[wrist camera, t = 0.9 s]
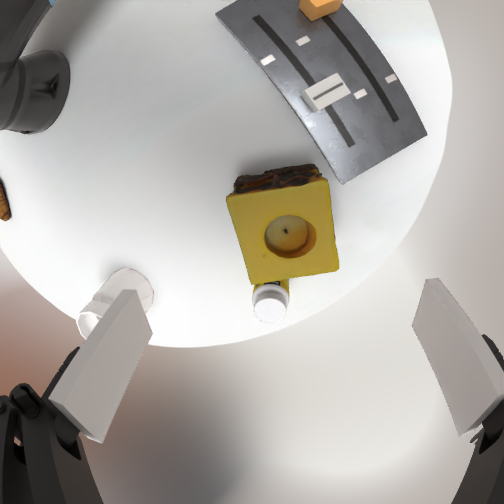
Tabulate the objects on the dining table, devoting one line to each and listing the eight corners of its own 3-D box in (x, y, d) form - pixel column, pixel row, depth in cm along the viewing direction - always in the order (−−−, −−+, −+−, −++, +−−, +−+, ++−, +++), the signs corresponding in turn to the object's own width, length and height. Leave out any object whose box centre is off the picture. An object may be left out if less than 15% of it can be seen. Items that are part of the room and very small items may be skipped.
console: (217, 19, 24) (214, 13, 22) (306, -25, 20) (307, -31, 18) (339, 181, 33) (342, 184, 31) (420, 133, 28) (427, 134, 26)
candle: (236, 176, 34) (221, 195, 25) (314, 161, 32) (329, 175, 23) (254, 247, 38) (247, 287, 29) (326, 234, 36) (340, 271, 27)
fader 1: (298, 7, 21) (301, -9, 17) (324, -4, 20) (331, -19, 16) (311, 21, 22) (316, 7, 18) (337, 10, 20) (345, -5, 16)
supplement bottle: (282, 257, 38) (283, 291, 31) (292, 284, 40) (294, 320, 33) (250, 266, 39) (244, 301, 32) (261, 292, 41) (258, 329, 34)
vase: (106, 266, 42) (68, 306, 31) (149, 269, 41) (114, 315, 31) (118, 306, 46) (88, 349, 35) (159, 312, 45) (132, 361, 34)
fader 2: (300, 95, 26) (304, 90, 22) (328, 79, 25) (337, 72, 21) (312, 112, 27) (319, 110, 23) (340, 97, 26) (351, 92, 22)
